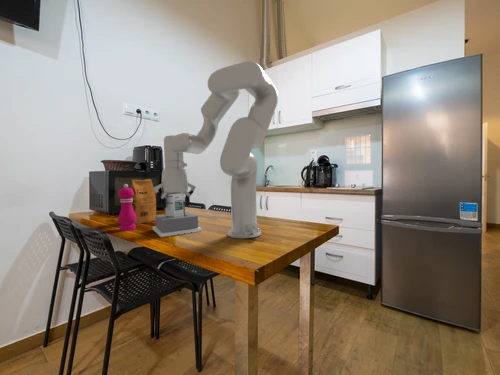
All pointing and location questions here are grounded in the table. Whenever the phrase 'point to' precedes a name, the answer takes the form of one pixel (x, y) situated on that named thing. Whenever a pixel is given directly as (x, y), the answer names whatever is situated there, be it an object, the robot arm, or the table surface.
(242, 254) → the table surface
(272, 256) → the table surface
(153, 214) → the coffee package
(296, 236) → the table surface
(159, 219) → the socket
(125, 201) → the pepper mill
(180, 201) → the syrup box
